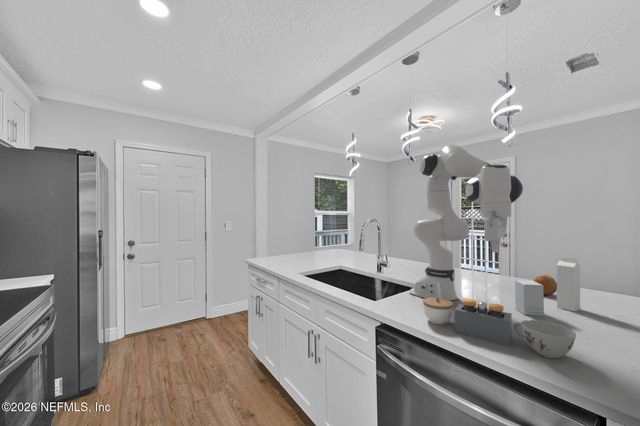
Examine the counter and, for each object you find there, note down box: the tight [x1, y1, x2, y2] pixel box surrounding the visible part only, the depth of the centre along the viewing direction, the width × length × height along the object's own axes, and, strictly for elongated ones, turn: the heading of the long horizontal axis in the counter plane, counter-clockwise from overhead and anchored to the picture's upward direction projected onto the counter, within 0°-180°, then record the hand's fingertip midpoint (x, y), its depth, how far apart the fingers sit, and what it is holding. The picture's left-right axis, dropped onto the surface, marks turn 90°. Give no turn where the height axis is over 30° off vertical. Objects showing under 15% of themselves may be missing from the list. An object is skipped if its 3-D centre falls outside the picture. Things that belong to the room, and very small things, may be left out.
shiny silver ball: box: [477, 301, 488, 313], centre depth 93 cm, size 3×3×3 cm
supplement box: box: [514, 280, 545, 317], centre depth 113 cm, size 7×7×13 cm
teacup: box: [513, 319, 577, 359], centre depth 82 cm, size 15×12×8 cm
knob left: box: [462, 298, 477, 312], centre depth 96 cm, size 4×4×9 cm
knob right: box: [488, 303, 504, 318], centre depth 91 cm, size 4×4×9 cm
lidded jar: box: [422, 297, 454, 326], centre depth 105 cm, size 11×11×9 cm
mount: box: [454, 303, 513, 347], centre depth 94 cm, size 16×8×8 cm, turn 50°
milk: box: [556, 256, 581, 312], centre depth 117 cm, size 6×6×22 cm
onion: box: [532, 274, 557, 296], centre depth 136 cm, size 10×10×10 cm
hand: (495, 251), depth 92 cm, fingers closed
